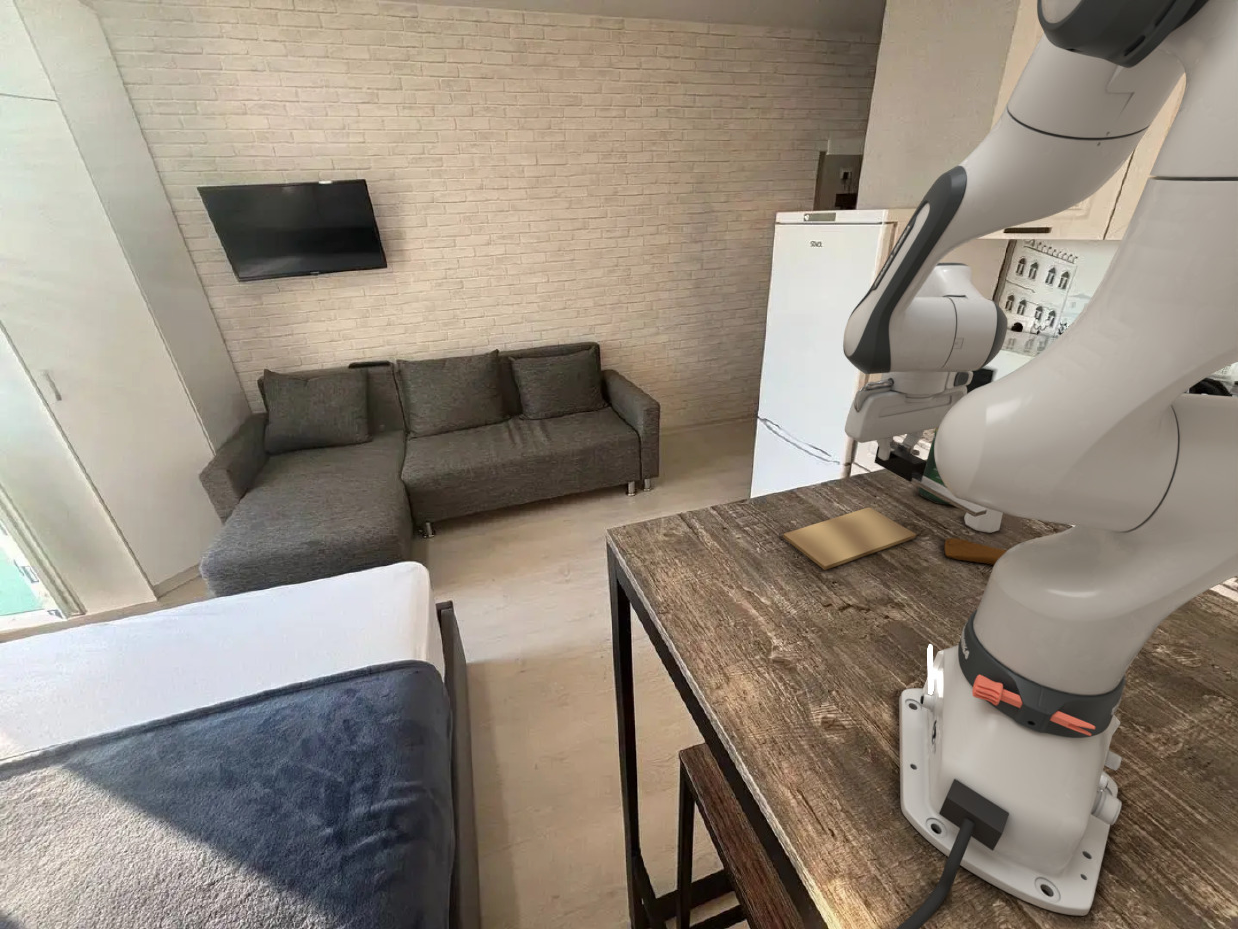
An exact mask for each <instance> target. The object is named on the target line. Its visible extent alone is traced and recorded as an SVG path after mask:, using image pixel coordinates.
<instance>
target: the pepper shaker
mask: <svg viewBox="0 0 1238 929" xmlns="http://www.w3.org/2000/svg"><path fill="white" fill-rule="evenodd" d="M982 507H983V506H982ZM984 508H985V507H984ZM986 509H987V512H986V514H983V515H980V516H976V517H974V516H972V515H970V514H968V513H967V512H965V515H964V517H963V520H964V523H965V525H966V526H967V527H969V528H971V529H973V530H974V531H977V532H982V533H987V534H991V533H994V532H999V531H1000V528H1001V523H1002V520H1003V519H1002V518H1003V516H1004V513H1002V512H999V511H995V510H992V509H989V508H986Z"/></svg>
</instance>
